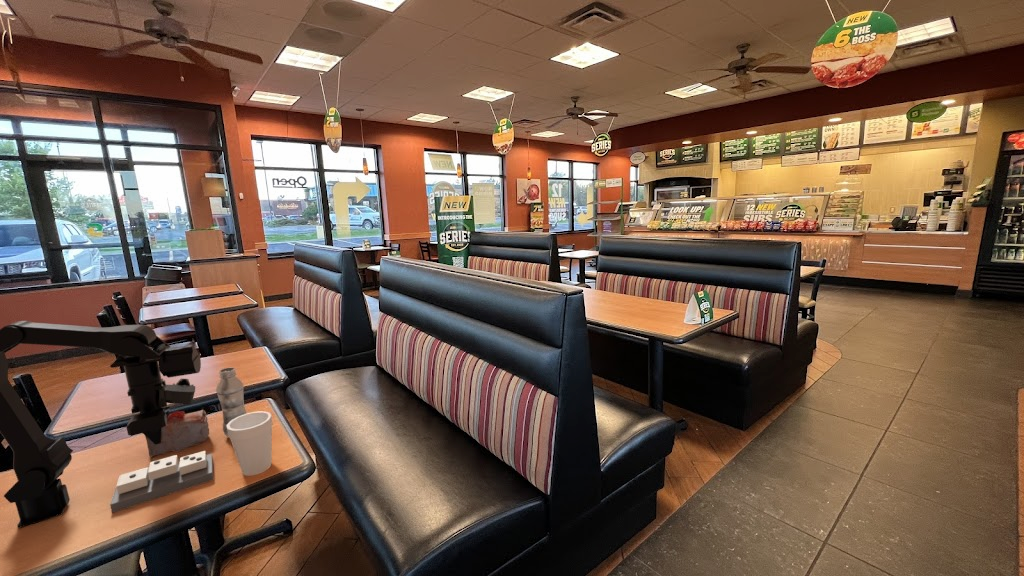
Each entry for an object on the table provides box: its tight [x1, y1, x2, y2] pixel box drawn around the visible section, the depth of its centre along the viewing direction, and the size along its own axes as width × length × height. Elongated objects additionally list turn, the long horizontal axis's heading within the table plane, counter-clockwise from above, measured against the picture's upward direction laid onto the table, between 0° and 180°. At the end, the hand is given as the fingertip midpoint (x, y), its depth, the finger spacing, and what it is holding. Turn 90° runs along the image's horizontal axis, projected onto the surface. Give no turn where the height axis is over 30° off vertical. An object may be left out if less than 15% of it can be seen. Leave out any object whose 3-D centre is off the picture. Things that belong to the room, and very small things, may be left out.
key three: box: [179, 450, 207, 475], centre depth 102 cm, size 5×5×2 cm
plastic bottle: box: [215, 367, 247, 438], centre depth 118 cm, size 6×7×20 cm
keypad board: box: [109, 453, 214, 514], centre depth 99 cm, size 18×10×2 cm, turn 126°
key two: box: [148, 454, 179, 481], centre depth 98 cm, size 5×5×2 cm
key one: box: [115, 466, 149, 494], centre depth 95 cm, size 5×5×2 cm
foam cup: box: [226, 410, 274, 477], centre depth 103 cm, size 10×9×13 cm
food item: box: [144, 409, 210, 458], centre depth 115 cm, size 14×8×10 cm, turn 126°
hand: (158, 443), depth 97 cm, fingers closed
